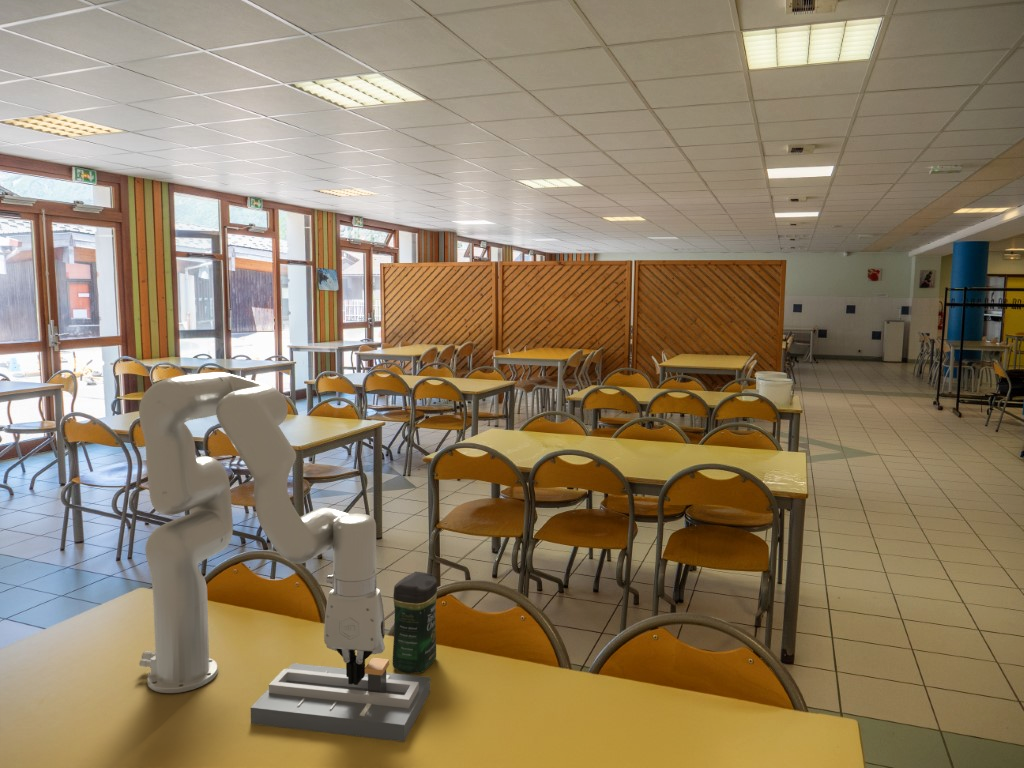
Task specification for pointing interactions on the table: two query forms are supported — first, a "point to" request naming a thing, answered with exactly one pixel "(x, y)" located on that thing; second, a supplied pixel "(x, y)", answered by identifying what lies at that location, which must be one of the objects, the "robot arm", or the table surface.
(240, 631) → the table surface
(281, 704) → the console
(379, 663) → the fader
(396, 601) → the coffee jar
